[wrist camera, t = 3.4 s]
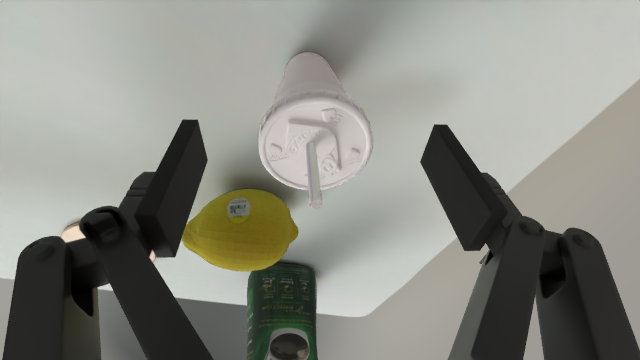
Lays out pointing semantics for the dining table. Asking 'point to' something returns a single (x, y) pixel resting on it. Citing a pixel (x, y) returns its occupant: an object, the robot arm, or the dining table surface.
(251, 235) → the lemon
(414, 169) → the dining table surface
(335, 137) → the white drink cup
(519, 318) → the robot arm
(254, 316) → the coffee jar
